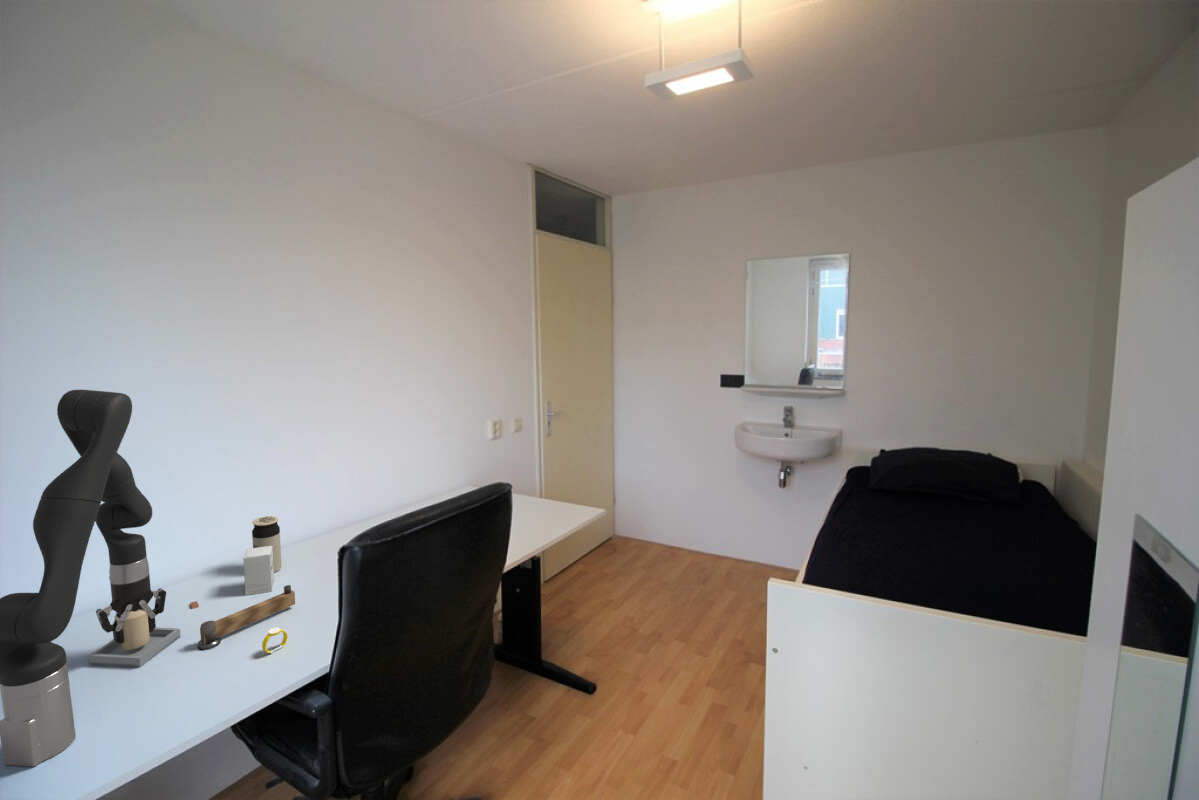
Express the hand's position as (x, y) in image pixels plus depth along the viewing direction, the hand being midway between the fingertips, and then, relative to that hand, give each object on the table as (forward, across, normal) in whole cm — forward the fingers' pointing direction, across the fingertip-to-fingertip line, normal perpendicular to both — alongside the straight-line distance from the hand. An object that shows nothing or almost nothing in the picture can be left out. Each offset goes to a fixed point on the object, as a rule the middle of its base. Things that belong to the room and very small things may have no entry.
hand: (135, 636), depth 138 cm
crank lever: (+3, +22, -12) cm, 25 cm away
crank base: (+4, +15, -1) cm, 15 cm away
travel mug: (+4, +42, +17) cm, 46 cm away
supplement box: (+4, +34, +7) cm, 35 cm away
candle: (+2, 0, 0) cm, 2 cm away
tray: (+4, 0, 0) cm, 4 cm away
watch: (+4, +20, -28) cm, 35 cm away
